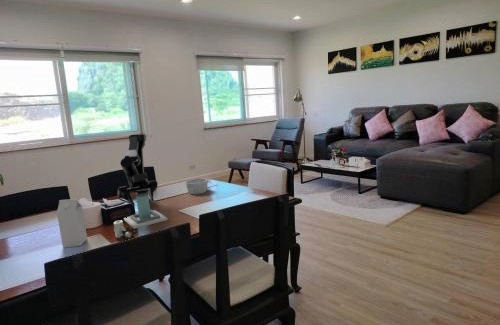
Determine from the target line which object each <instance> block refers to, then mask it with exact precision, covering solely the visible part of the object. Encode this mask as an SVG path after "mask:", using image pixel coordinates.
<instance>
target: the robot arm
mask: <svg viewBox="0 0 500 325" xmlns="http://www.w3.org/2000/svg"><path fill="white" fill-rule="evenodd" d="M128 139H129V140H128V141H129V145H128V151H127V152H126V153H125V154H124V158H122V159H121V160H120V163H119V164H120V167H121V168H122V170H123V172H124V173H125V177H126V178H127V182H128V185H129V187H128V186H127V185H124V186H119V187H118V188H117V192H116V194H117V198H118V199H122V200H123V199H124V200H125V201H126V202H128V203H129V204H130V205H132V206H133V207H134V206H135V202H134V200H133V198H132V196H131V193H134V194H138V193H142V192H147V193H148V197H149V198H150V199H149V203H150V202H154V192H155V191H156V190H157V189H158V181H157V180H155V179H154V180H150V181H149V180H148V176H149V175H148V174H147V171H145V166H144V151H143V150H144V148H145V146H146V142H147V137H146V135H145V134H144V133H131V134H129V135H128ZM135 201H136V203H137V200H135Z"/></svg>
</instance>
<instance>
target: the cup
mask: <svg viewBox="0 0 500 325" xmlns="http://www.w3.org/2000/svg"><path fill="white" fill-rule="evenodd" d="M135 197H136V201H137V202H136V204H137V214H139V219H140V220H141V219H145V218H149V217H151V213H150V211H151V207H150V202H149V200H150V199H149V198H150V196H149V193H147V192H142V193H138V194H137V193H135Z"/></svg>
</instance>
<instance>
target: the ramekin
mask: <svg viewBox="0 0 500 325" xmlns="http://www.w3.org/2000/svg"><path fill="white" fill-rule="evenodd" d="M185 185H186V189H187V192H188V194H191V195H200V194H204V193H206V192H207V191H208V179H207V178H194V179H189V180H187V181H185Z"/></svg>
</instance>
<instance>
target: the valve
mask: <svg viewBox="0 0 500 325" xmlns="http://www.w3.org/2000/svg"><path fill="white" fill-rule="evenodd" d="M113 231H114V235H115V238H117V239H122V242H123V241H125V240H126V241H128V239H131V240H133V239H132V238H135V239H136V237H135V235H136V234H137V231H136V230H134V228H133V227H131V226H130V228H129V226H126V227H125V226H124V220H122V219H121V220H115V221H114V222H113Z"/></svg>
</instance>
